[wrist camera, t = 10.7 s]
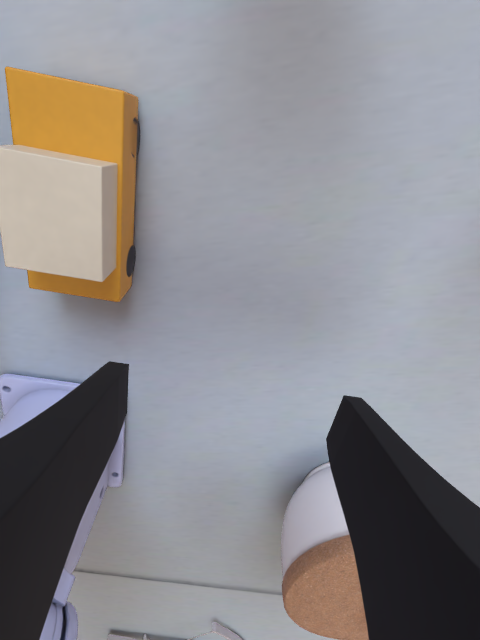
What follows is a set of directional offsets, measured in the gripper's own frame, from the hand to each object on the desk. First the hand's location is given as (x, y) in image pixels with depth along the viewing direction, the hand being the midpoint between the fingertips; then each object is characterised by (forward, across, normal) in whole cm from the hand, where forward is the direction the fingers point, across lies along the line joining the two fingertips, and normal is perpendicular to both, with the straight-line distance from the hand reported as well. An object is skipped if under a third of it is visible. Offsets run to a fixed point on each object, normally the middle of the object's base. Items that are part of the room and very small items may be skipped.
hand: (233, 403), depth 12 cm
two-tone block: (+9, +8, -4) cm, 13 cm away
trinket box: (+10, -11, +15) cm, 21 cm away
